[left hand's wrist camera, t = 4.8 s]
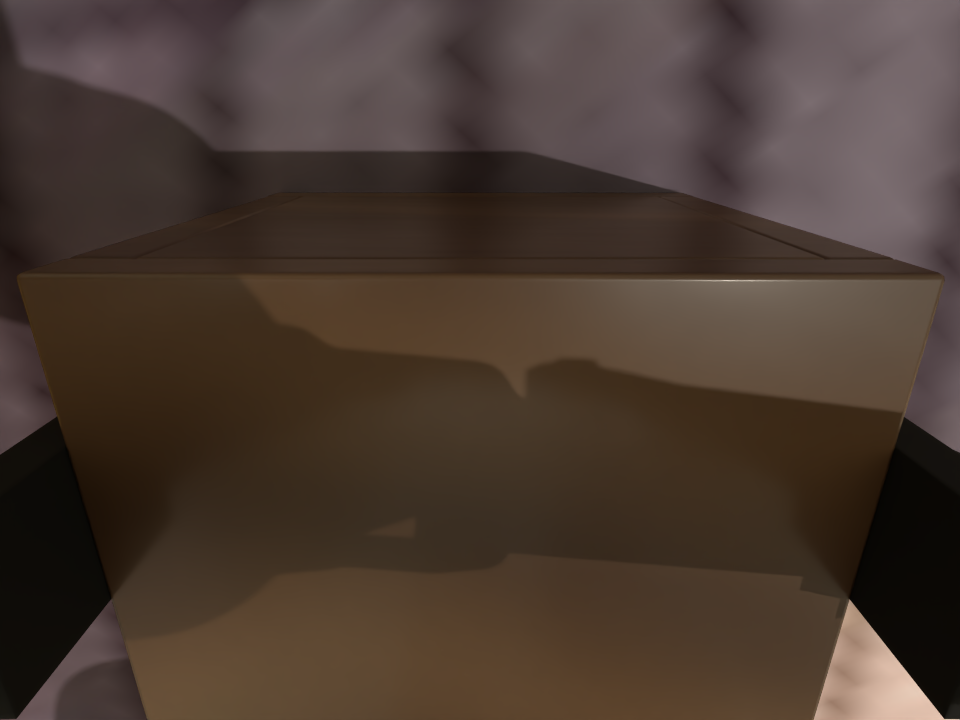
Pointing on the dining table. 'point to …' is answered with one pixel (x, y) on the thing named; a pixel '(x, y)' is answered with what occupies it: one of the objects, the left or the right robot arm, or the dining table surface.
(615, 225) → the cabinet
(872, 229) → the dining table surface
